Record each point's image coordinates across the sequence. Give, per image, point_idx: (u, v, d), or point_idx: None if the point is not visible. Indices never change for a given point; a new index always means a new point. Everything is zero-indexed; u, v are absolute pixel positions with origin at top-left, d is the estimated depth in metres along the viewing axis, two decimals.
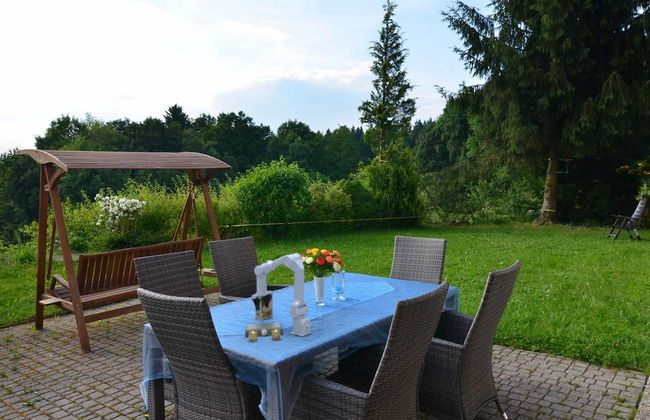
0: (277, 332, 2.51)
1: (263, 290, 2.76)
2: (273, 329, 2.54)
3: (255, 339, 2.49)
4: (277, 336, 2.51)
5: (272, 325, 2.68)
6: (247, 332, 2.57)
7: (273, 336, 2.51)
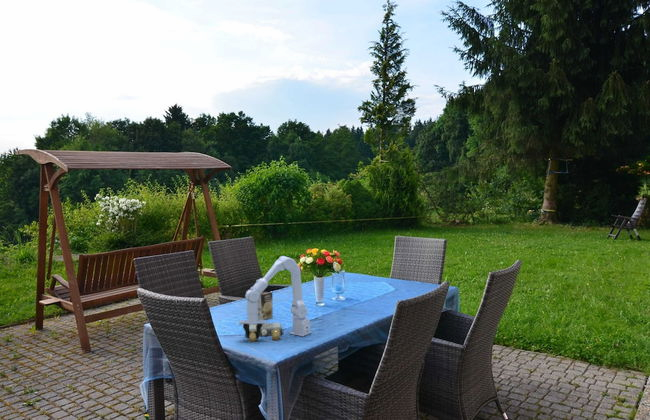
0: (277, 332, 2.51)
1: (249, 318, 2.48)
2: (273, 329, 2.54)
3: (255, 339, 2.49)
4: (277, 336, 2.51)
5: (272, 325, 2.68)
6: None
7: (273, 336, 2.51)
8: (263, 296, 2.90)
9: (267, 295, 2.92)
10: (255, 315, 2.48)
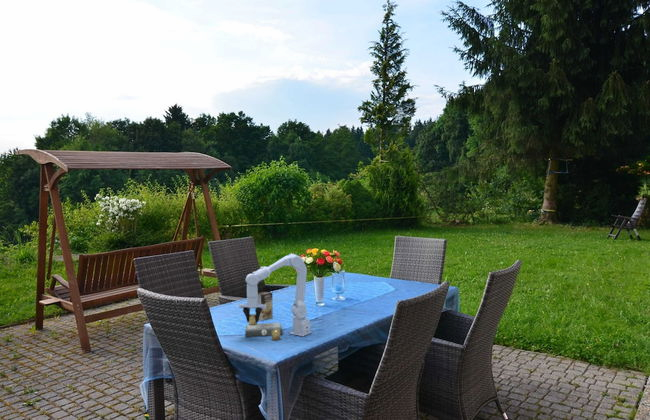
0: (277, 332, 2.51)
1: (248, 301, 2.51)
2: (273, 329, 2.54)
3: (254, 323, 2.52)
4: (277, 336, 2.51)
5: (272, 325, 2.68)
6: (247, 332, 2.57)
7: (273, 336, 2.51)
8: (263, 296, 2.90)
9: (267, 295, 2.92)
10: (254, 299, 2.51)
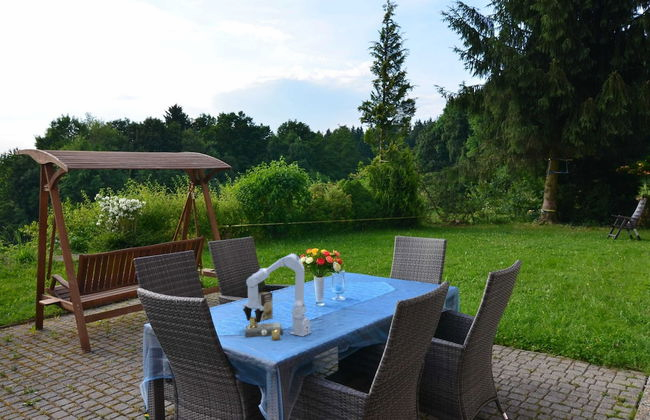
0: (277, 332, 2.51)
1: (248, 302, 2.64)
2: (273, 329, 2.54)
3: (253, 325, 2.64)
4: (277, 336, 2.51)
5: (272, 325, 2.68)
6: (247, 332, 2.57)
7: (273, 336, 2.51)
8: (263, 296, 2.90)
9: (267, 295, 2.92)
10: (253, 300, 2.63)
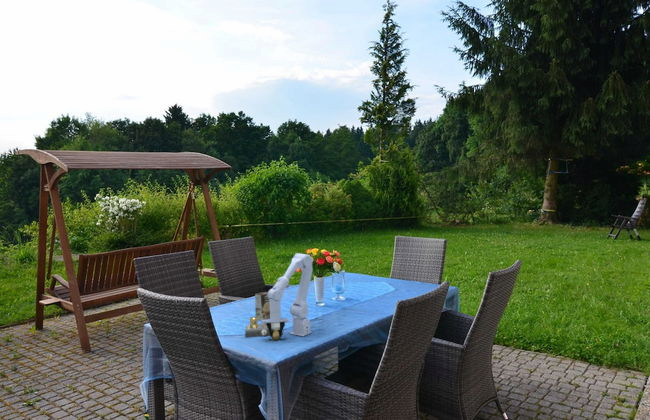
0: (277, 332, 2.51)
1: (273, 317, 2.50)
2: (273, 329, 2.54)
3: (253, 325, 2.64)
4: (277, 336, 2.51)
5: (272, 325, 2.68)
6: (247, 332, 2.57)
7: (273, 336, 2.51)
8: (263, 296, 2.90)
9: None
10: (279, 313, 2.51)
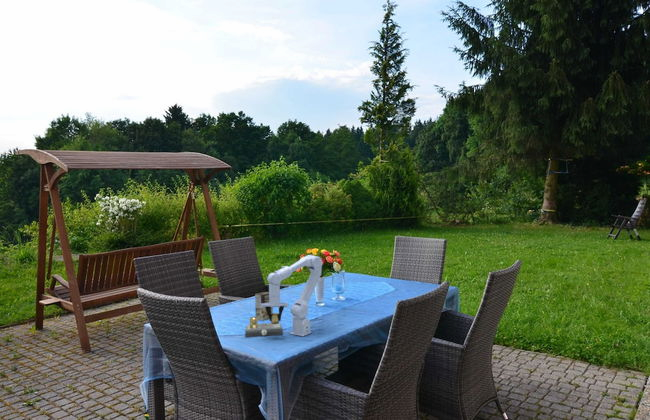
0: (276, 316, 2.53)
1: (272, 300, 2.52)
2: (273, 313, 2.56)
3: (253, 325, 2.64)
4: (276, 320, 2.53)
5: (272, 325, 2.68)
6: (247, 332, 2.57)
7: (272, 320, 2.53)
8: (263, 296, 2.90)
9: (267, 295, 2.92)
10: (277, 298, 2.53)
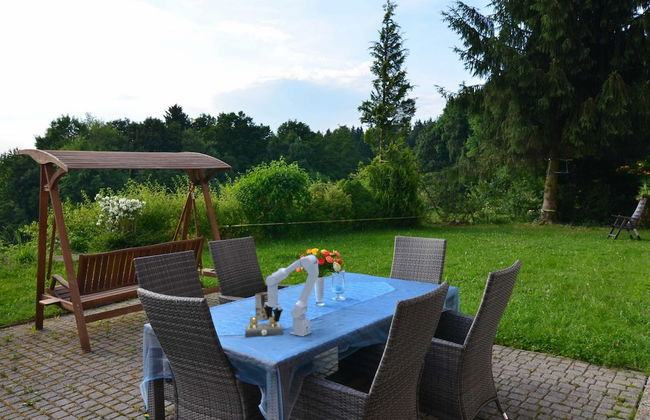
0: (271, 319, 2.66)
1: None
2: None
3: (253, 325, 2.64)
4: (271, 322, 2.66)
5: None
6: (247, 332, 2.57)
7: (269, 321, 2.68)
8: (263, 296, 2.90)
9: (267, 295, 2.92)
10: (271, 299, 2.65)
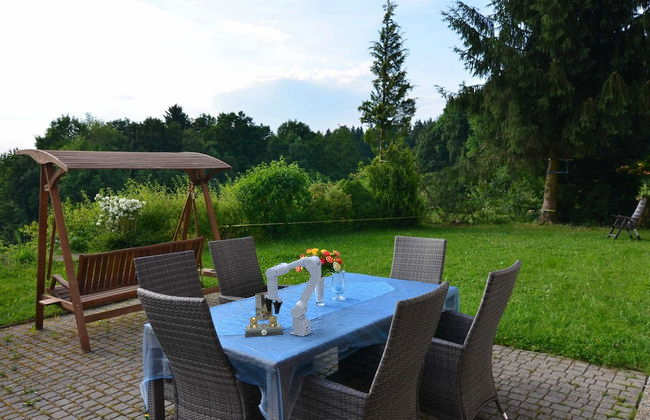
0: (271, 319, 2.66)
1: None
2: None
3: (253, 325, 2.64)
4: (271, 322, 2.66)
5: None
6: (247, 332, 2.57)
7: (269, 321, 2.68)
8: (263, 296, 2.90)
9: None
10: (271, 291, 2.65)
